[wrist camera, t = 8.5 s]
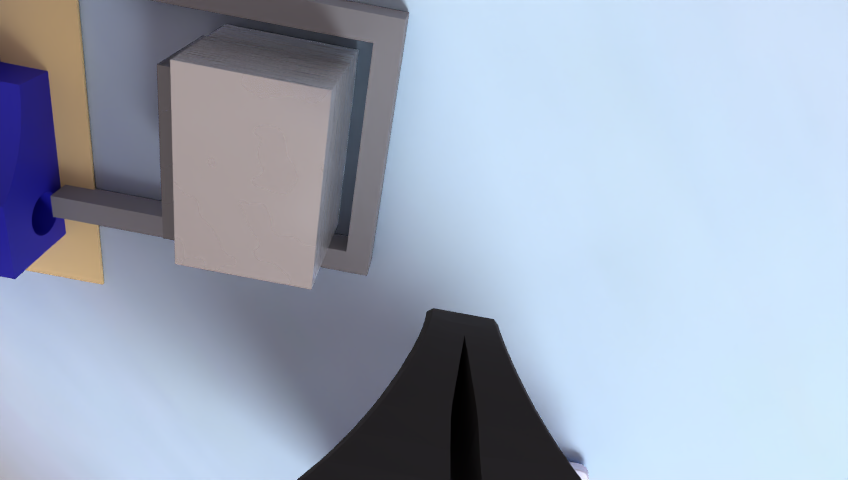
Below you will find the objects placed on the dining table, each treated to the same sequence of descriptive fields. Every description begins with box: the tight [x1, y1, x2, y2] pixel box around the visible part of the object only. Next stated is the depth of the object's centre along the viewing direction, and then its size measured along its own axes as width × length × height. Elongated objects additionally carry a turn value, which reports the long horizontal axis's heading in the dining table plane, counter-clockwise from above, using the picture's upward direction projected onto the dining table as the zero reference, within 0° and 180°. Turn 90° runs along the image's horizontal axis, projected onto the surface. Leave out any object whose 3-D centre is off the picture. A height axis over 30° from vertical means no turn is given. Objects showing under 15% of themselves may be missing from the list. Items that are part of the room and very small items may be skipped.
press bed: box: [0, 0, 409, 285], centre depth 21 cm, size 17×15×1 cm
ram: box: [157, 24, 359, 289], centre depth 20 cm, size 5×6×4 cm
